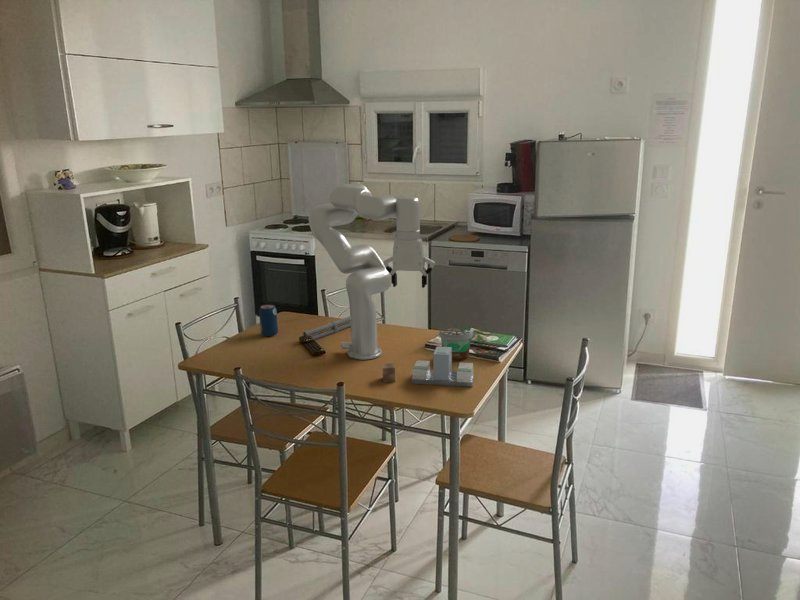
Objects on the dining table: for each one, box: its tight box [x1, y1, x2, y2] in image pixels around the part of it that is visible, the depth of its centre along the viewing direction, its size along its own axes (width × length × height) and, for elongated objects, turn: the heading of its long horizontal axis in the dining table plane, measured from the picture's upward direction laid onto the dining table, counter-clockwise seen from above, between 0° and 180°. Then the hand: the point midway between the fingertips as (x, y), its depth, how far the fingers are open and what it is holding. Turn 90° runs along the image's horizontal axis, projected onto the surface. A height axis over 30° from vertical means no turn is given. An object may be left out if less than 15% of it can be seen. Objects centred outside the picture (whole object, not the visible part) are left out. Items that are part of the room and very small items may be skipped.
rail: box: [410, 360, 476, 388], centre depth 216 cm, size 20×8×5 cm, turn 79°
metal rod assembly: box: [302, 316, 351, 341], centre depth 264 cm, size 26×3×5 cm, turn 140°
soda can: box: [258, 304, 279, 337], centre depth 264 cm, size 7×7×12 cm
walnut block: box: [382, 363, 396, 383], centre depth 218 cm, size 4×4×5 cm
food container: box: [438, 329, 474, 362], centre depth 234 cm, size 12×6×10 cm, turn 88°
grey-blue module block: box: [432, 346, 453, 381], centre depth 216 cm, size 5×7×9 cm
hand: (409, 286), depth 217 cm, fingers open, 9 cm apart
